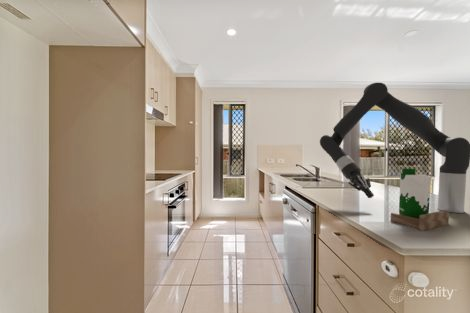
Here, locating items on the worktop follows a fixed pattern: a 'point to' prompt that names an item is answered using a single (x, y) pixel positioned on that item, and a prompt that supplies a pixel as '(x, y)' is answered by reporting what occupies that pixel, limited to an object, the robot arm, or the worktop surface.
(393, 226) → the worktop surface
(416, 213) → the soya milk
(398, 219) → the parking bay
